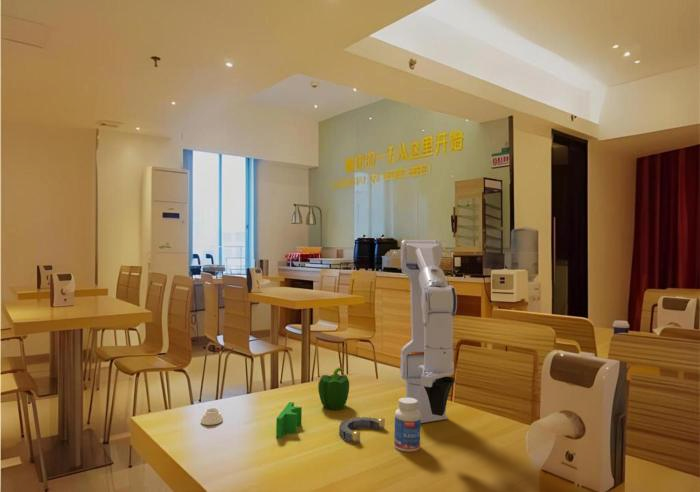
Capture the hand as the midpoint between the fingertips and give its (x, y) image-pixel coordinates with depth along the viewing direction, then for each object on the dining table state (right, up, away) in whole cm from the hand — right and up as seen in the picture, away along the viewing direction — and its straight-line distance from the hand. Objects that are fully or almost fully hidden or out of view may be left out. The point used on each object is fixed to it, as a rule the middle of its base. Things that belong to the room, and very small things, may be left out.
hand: (438, 414), depth 93 cm
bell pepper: (-22, -9, +29) cm, 37 cm away
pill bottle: (-6, -9, +4) cm, 11 cm away
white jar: (-51, -9, +17) cm, 54 cm away
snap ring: (-16, -8, +12) cm, 21 cm away
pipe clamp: (-31, -9, +13) cm, 35 cm away
